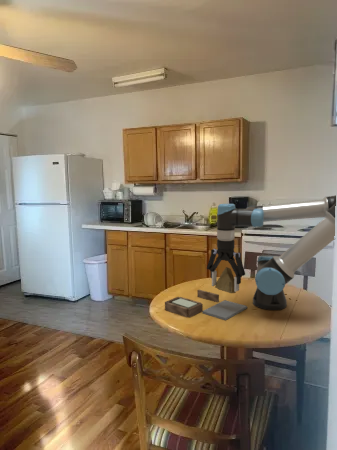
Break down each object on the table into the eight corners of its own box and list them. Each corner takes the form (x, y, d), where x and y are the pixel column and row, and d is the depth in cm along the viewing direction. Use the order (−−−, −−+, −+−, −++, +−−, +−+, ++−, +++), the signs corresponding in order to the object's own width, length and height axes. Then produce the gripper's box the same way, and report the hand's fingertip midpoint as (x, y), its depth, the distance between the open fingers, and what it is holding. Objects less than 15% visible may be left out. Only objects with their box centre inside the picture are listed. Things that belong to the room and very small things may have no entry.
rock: (242, 289, 144) (238, 279, 154) (231, 274, 143) (227, 265, 152) (222, 302, 146) (219, 292, 156) (210, 288, 145) (208, 278, 154)
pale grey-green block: (198, 312, 150) (198, 303, 150) (189, 316, 146) (189, 307, 146) (180, 306, 158) (180, 298, 157) (171, 310, 153) (171, 301, 153)
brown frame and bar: (221, 302, 162) (221, 295, 161) (188, 318, 144) (188, 310, 143) (197, 295, 171) (197, 289, 171) (164, 309, 153) (163, 302, 153)
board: (247, 308, 154) (247, 306, 154) (225, 320, 141) (225, 318, 140) (224, 302, 162) (224, 300, 162) (202, 313, 149) (202, 311, 148)
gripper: (254, 241, 142) (253, 291, 145) (208, 235, 158) (208, 281, 160) (245, 243, 136) (244, 296, 139) (199, 237, 152) (198, 284, 155)
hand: (225, 288), depth 150 cm, fingers closed on rock, 11 cm apart
